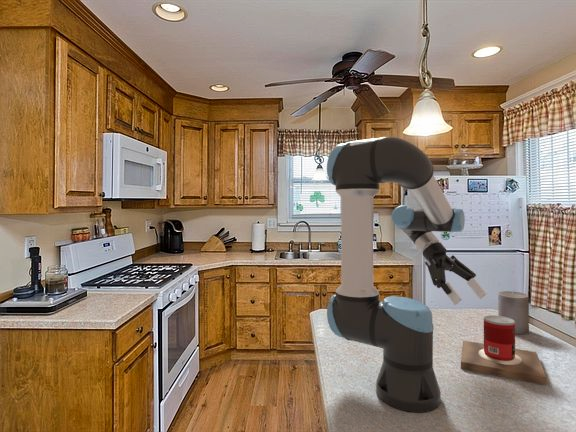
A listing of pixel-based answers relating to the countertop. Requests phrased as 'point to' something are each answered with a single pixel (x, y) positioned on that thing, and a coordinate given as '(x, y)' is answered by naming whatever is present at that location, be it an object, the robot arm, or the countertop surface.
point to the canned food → (499, 337)
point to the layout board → (503, 363)
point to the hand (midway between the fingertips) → (471, 299)
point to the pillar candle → (515, 309)
